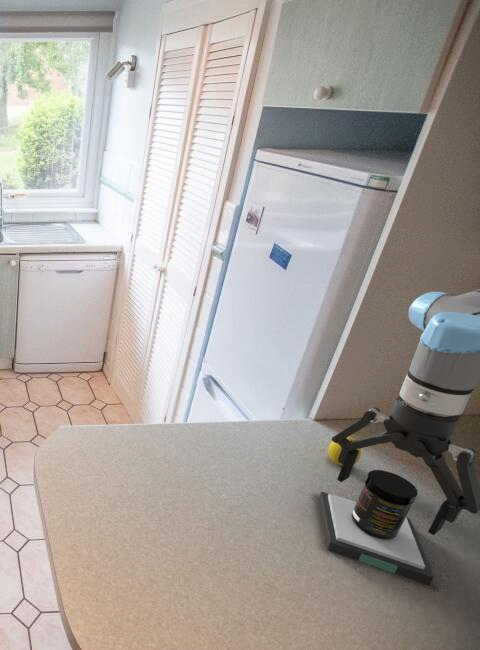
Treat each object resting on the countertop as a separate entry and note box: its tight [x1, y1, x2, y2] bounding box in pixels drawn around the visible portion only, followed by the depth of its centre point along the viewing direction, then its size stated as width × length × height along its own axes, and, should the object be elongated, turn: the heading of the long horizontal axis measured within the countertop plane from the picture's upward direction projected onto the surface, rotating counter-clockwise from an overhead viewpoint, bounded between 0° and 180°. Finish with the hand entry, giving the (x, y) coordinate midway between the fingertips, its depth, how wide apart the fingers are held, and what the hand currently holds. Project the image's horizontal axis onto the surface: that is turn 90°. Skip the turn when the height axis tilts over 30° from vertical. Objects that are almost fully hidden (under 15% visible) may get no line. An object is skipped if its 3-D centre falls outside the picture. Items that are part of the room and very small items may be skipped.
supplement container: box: [351, 469, 419, 539], centre depth 82 cm, size 7×7×10 cm
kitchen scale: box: [317, 491, 434, 586], centre depth 85 cm, size 14×14×3 cm
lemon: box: [327, 436, 362, 467], centre depth 102 cm, size 6×6×8 cm
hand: (385, 502), depth 82 cm, fingers open, 13 cm apart
